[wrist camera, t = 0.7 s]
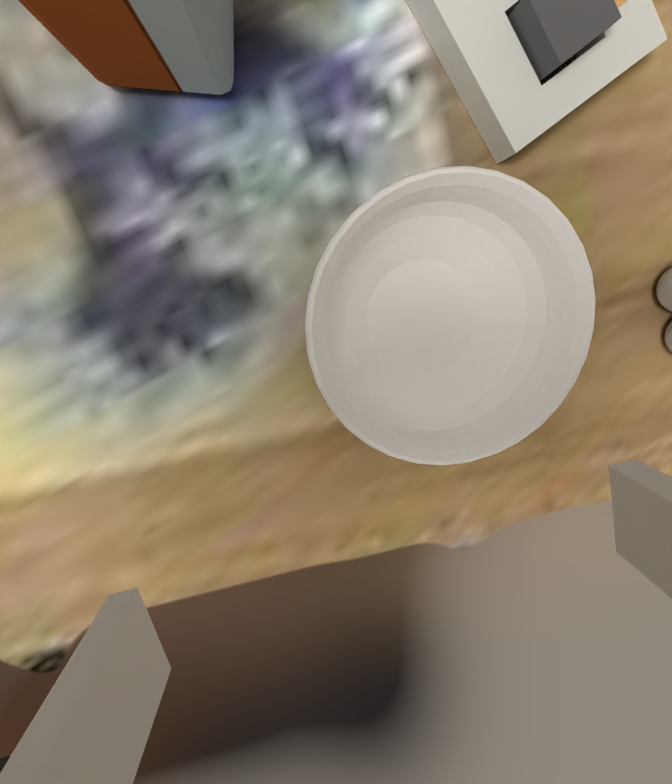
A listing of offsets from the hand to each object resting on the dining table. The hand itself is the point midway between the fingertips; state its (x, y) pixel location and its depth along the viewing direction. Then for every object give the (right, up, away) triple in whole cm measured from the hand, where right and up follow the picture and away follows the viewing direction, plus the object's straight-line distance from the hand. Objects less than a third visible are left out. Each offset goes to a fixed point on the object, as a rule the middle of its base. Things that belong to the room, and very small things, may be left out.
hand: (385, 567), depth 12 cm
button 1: (+13, +29, +17) cm, 36 cm away
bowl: (+5, +11, +24) cm, 27 cm away
